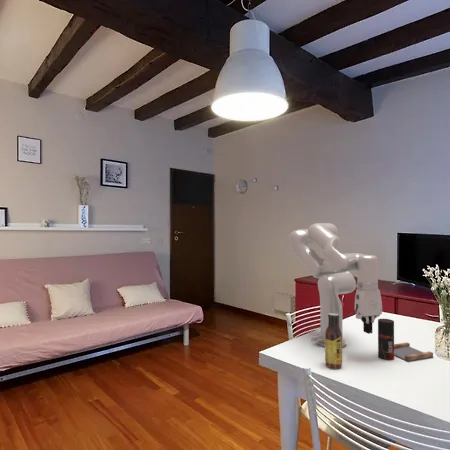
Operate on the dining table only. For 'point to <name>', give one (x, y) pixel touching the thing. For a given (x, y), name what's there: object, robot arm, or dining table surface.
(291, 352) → the dining table surface
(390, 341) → the deodorant
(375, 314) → the robot arm
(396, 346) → the side rails
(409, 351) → the mat
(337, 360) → the sauce bottle
